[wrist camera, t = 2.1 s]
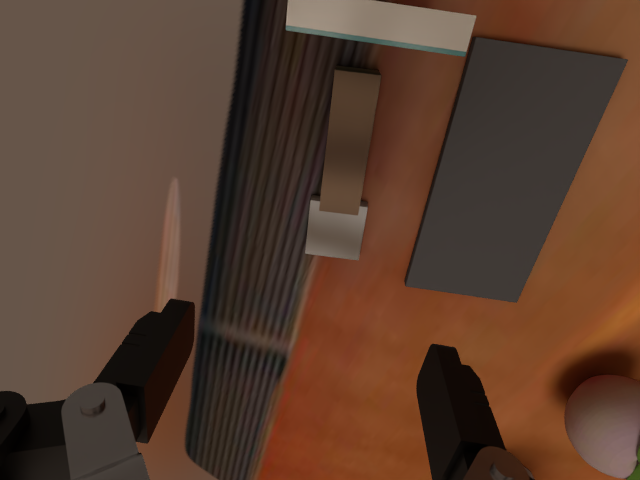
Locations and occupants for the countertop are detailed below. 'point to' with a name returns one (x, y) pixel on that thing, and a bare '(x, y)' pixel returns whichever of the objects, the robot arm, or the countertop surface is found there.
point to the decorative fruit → (606, 424)
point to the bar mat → (507, 164)
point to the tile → (383, 24)
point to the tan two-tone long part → (344, 166)
